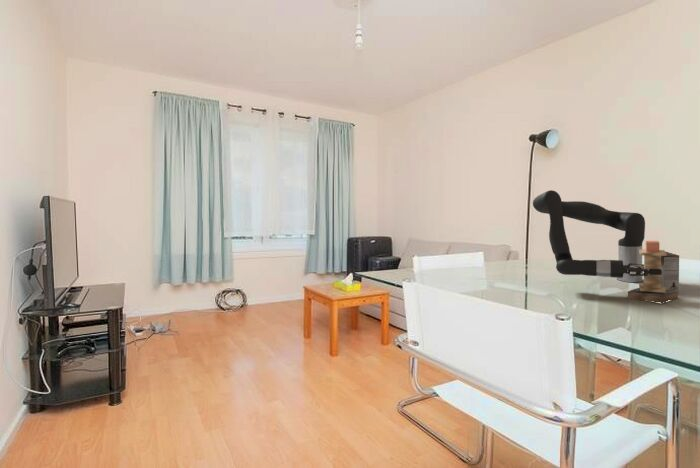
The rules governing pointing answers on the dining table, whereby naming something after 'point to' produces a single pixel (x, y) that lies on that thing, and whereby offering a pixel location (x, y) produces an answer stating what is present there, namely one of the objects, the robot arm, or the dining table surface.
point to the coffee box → (670, 271)
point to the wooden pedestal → (652, 262)
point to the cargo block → (652, 246)
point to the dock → (652, 295)
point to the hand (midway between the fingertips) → (660, 270)
